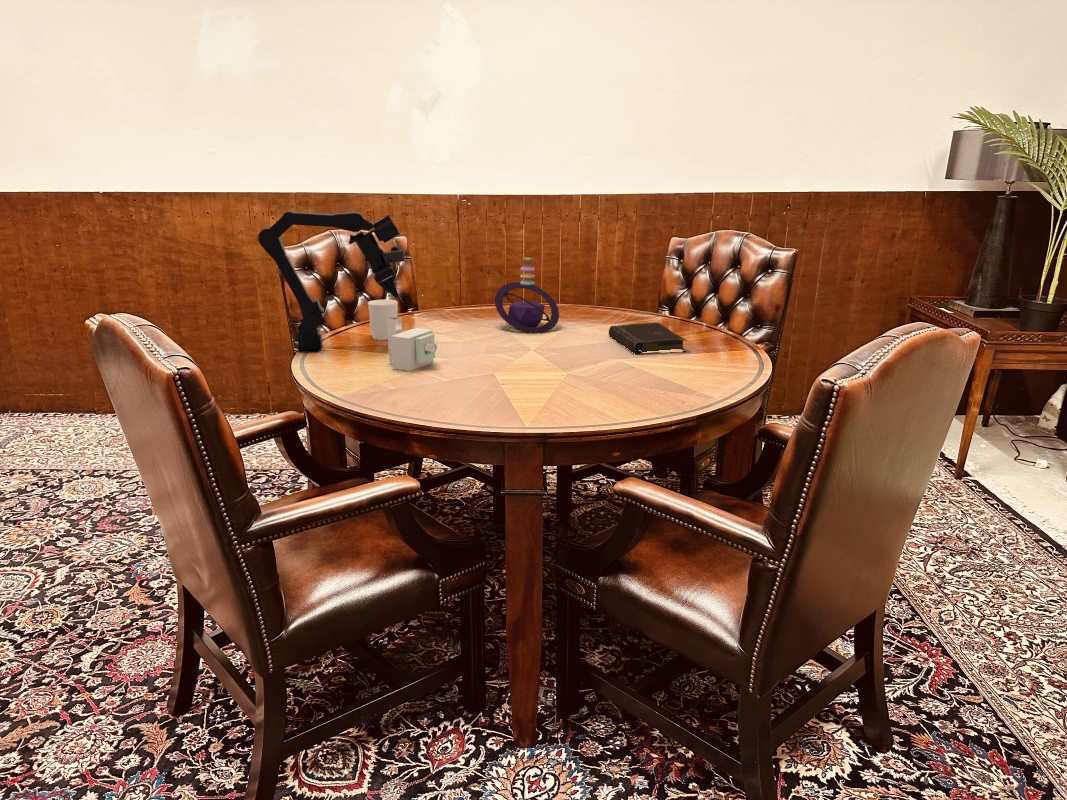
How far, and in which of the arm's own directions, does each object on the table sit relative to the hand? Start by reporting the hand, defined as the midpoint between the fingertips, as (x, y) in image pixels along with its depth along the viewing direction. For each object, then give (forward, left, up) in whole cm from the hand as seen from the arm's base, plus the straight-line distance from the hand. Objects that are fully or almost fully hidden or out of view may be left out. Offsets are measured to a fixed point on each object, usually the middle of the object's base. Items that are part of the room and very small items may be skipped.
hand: (396, 294), depth 227 cm
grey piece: (+7, -24, -17) cm, 30 cm away
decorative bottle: (+43, +25, -17) cm, 53 cm away
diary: (+81, -1, -17) cm, 83 cm away
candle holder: (-6, +12, -17) cm, 22 cm away
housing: (+7, -24, -17) cm, 30 cm away
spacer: (+10, -26, -14) cm, 32 cm away
